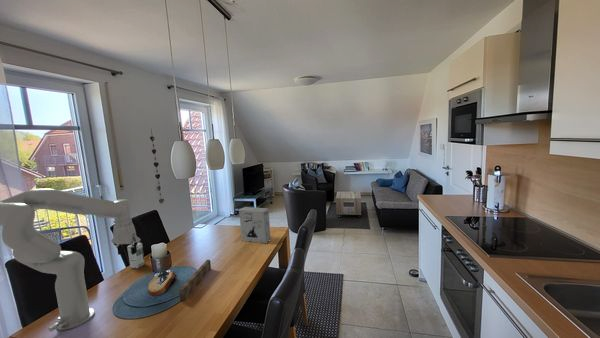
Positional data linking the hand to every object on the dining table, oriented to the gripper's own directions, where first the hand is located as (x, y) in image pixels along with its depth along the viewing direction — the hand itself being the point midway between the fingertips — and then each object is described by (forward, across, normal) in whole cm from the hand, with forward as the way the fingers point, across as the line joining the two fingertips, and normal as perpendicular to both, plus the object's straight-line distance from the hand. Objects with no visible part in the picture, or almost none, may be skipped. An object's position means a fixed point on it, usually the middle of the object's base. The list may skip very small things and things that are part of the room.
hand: (127, 253), depth 136 cm
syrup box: (+18, -12, +20) cm, 29 cm away
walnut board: (+18, +38, 0) cm, 42 cm away
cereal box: (+18, +56, +57) cm, 82 cm away
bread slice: (+18, +18, 0) cm, 26 cm away
